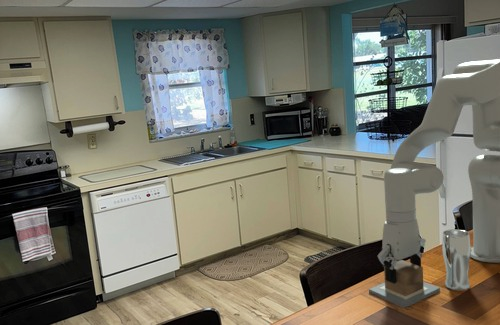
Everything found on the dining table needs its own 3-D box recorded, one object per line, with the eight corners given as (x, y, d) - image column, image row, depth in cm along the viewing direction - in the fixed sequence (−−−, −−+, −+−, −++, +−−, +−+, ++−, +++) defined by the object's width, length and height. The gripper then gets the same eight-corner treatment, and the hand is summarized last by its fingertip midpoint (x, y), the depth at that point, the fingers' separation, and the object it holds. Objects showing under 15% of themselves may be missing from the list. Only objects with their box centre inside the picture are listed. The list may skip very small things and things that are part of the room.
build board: (403, 277, 134) (403, 274, 134) (439, 291, 124) (439, 287, 124) (369, 292, 127) (368, 288, 127) (404, 308, 117) (403, 304, 117)
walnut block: (402, 280, 130) (401, 259, 129) (423, 288, 124) (422, 266, 123) (385, 287, 127) (384, 266, 126) (405, 296, 121) (404, 274, 120)
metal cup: (474, 291, 122) (473, 237, 120) (446, 291, 123) (444, 237, 121) (467, 280, 129) (466, 228, 126) (441, 280, 130) (439, 229, 128)
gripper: (411, 205, 130) (414, 263, 132) (366, 220, 121) (370, 281, 124) (434, 210, 123) (436, 271, 126) (388, 226, 115) (392, 290, 117)
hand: (403, 276), depth 125 cm, fingers open, 9 cm apart
